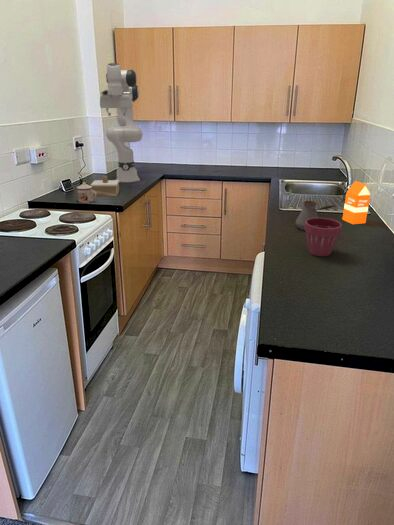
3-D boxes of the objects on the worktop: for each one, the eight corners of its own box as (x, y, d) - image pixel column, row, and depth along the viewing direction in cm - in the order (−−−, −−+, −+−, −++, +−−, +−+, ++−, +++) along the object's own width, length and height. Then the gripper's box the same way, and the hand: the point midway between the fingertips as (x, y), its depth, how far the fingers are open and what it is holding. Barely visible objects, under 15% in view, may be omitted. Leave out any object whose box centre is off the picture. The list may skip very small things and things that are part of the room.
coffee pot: (290, 226, 192) (293, 196, 186) (308, 223, 197) (311, 194, 191) (320, 239, 175) (325, 207, 169) (339, 236, 179) (344, 204, 174)
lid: (94, 181, 256) (94, 174, 254) (119, 181, 257) (118, 174, 255) (90, 186, 243) (89, 178, 241) (116, 186, 244) (116, 178, 242)
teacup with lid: (75, 203, 233) (72, 183, 228) (83, 199, 241) (81, 180, 236) (92, 204, 229) (90, 185, 225) (100, 201, 237) (99, 182, 233)
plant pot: (336, 261, 152) (341, 229, 147) (299, 255, 157) (303, 225, 152) (338, 248, 164) (343, 219, 159) (304, 244, 169) (307, 215, 164)
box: (96, 192, 258) (95, 182, 256) (119, 192, 259) (118, 181, 257) (92, 197, 247) (91, 186, 244) (116, 196, 247) (115, 185, 245)
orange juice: (352, 224, 196) (359, 184, 188) (341, 219, 204) (347, 181, 196) (365, 223, 198) (372, 183, 190) (354, 218, 206) (361, 180, 198)
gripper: (132, 92, 246) (133, 115, 252) (99, 92, 244) (101, 115, 250) (132, 92, 240) (133, 116, 246) (98, 92, 239) (100, 116, 244)
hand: (117, 115), depth 248 cm, fingers open, 8 cm apart
